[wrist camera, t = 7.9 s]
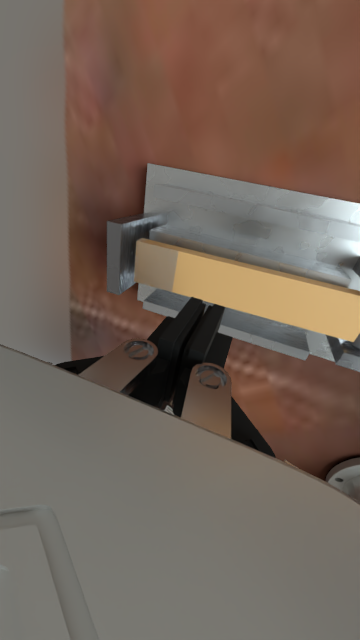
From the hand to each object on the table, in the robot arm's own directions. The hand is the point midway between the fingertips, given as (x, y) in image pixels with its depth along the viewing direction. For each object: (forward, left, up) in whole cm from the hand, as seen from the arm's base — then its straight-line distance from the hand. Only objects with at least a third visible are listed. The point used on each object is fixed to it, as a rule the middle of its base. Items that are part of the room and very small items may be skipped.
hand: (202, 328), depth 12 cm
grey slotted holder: (-2, 0, -12) cm, 12 cm away
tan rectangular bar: (-2, 0, -7) cm, 7 cm away
